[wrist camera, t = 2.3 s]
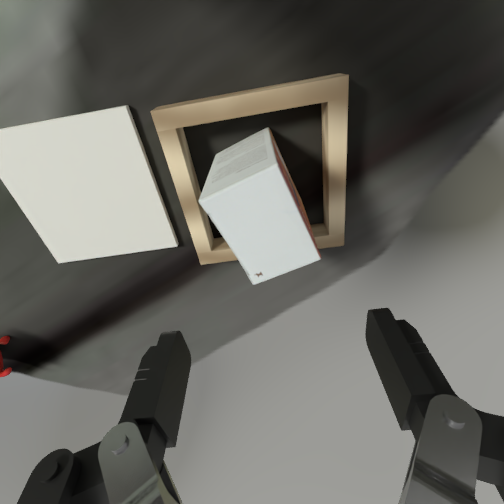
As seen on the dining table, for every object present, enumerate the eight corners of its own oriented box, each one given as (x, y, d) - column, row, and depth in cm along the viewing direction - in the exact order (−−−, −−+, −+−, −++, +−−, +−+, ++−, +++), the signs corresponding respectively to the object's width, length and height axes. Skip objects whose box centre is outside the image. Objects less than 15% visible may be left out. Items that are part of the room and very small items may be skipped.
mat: (-24, 133, 25) (-30, 134, 25) (128, 105, 24) (125, 106, 24) (61, 260, 33) (58, 263, 33) (178, 243, 32) (177, 246, 31)
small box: (302, 199, 29) (324, 261, 20) (252, 221, 30) (253, 288, 22) (269, 123, 25) (279, 161, 16) (213, 153, 26) (196, 201, 18)
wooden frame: (158, 106, 24) (150, 111, 22) (339, 73, 23) (348, 74, 21) (203, 251, 33) (200, 264, 30) (337, 232, 31) (344, 245, 29)
